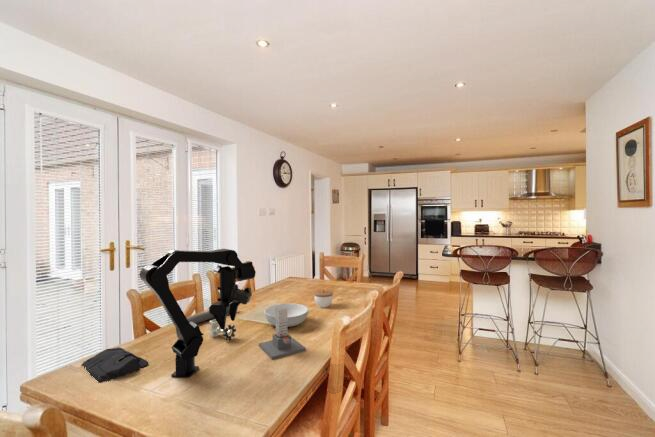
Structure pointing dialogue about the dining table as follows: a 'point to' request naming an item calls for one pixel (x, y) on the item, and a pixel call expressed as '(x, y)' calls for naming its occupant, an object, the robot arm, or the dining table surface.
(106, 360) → the dark slate chunk
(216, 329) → the valve
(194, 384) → the dining table surface
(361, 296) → the dining table surface
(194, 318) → the flashlight
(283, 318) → the block
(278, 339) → the jack stand base
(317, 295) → the lidded jar
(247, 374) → the dining table surface
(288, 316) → the serving bowl
